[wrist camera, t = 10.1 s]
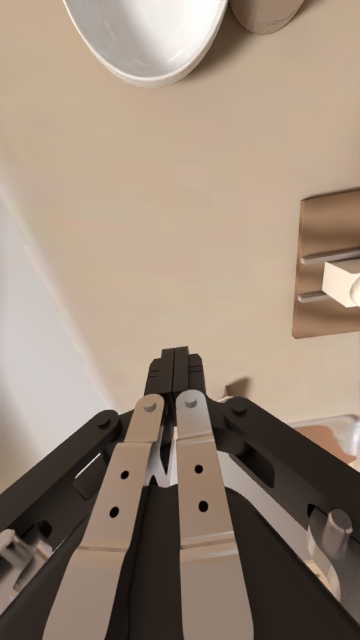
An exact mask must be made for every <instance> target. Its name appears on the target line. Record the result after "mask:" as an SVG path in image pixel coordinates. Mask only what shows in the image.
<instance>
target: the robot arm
mask: <svg viewBox="0 0 360 640" xmlns="http://www.w3.org/2000/svg"><path fill="white" fill-rule="evenodd" d="M303 2H304V0H229V3H230V6H231V8H232V11H233V14H234V15H235V17H236V19H237V20H238V22H239V23H240V24H241V25H242V26H243V27H244V28H245V29H247V30H248V31H250V32H252V33H255V34H260V35H262V34H270V33H273V32H275V31H278V30H279V29H280V28H282V27H283V26H285V25H286V24H287V23H288V22H289V21H290V20H291V19H292V18H293V17H294V15H295V14H296V12H297V11H298V9H299V8H300V6H301V5H302V3H303ZM175 426H177V432H178V439H177V440H176V452H177V473H178V484H175V485H173V486H170V473H171V465H172V457H173V448H174V436H173V435H174V427H175ZM217 450H218V451H222V452H226V453H228V455H229V456H230V458H231V459H232V460H233V461H234V462H236V464H237V465H238V466H239V467H241V468H242V469H243V470H244V471H245V472H246V473H247V474H248V475H249V476H250V477H251V478H252V479H253V480H254V481H255V482H256V483H257V484H258V485H259V486H260V487H261V488H263V489H264V490H265V491H266V492H267V493H268V494H269V495H270V496H271V497H272V498H273V499H274V500H275V501H276V502H277V503H278V504H279V505H280V506H281V507H282V508H283V509H285V510H286V511H287V512H288V513H289V514H290V515H291V516H292V517H293V518H294V519H295V520H296V521H297V522H298V523H299V524H300V525H301V526H302V527H303V528H304V529H305V530H307V546H308V550H309V553H310V555H311V557H312V559H313V560H314V562H315V563H316V565H317V566H318V567H319V568H320V570H321V571H322V572H323V574H324V575H325V577H326V578H327V580H328V582H329V584H330V587H331V589H332V593H333V594H332V593H331V592H330V591H329V590H328V589H327V588H326V586H325V585H324V584H323V583H322V582H321V581H320V580H319V579H318V577H317V576H316V575H315V574H314V573H313V572H312V571H311V570H310V568H309V567H308V566H307V565H306V564H305V563H304V562H303V561H302V560H301V559H300V557H299V556H298V555H297V554H296V553H295V552H294V551H293V550H292V548H291V547H290V546H289V545H288V544H287V543H286V542H285V541H284V539H283V538H282V537H281V536H280V535H279V534H278V533H277V532H276V530H275V529H274V528H273V527H272V526H271V525H270V524H269V523H268V521H267V520H266V519H265V518H264V517H263V516H262V515H261V514H260V513H259V511H257V509H256V508H255V507H254V506H253V505H252V504H251V503H250V502H249V501H248V500H247V499H246V498H245V497H244V496H242V495H241V494H239V493H238V492H236V491H234V490H232V489H230V488H228V487H225V486H224V483H223V478H222V474H221V469H220V464H219V460H218V454H217ZM99 453H100V456H98V457H97V458H96V459H95V460H94V462H92V463H91V464H90V465H89V466H88V467H87V468H86V469H85V470H84V471H83V472H82V473H81V474H80V475H79V476H78V477H77V478H76V479H75V477H76V476H77V474H78V473H79V472H80V471H81V470H82V469H83V468H84V467H85V466H86V465H87V464H89V463H90V462H91V461H92V459H94V458H95V457H96V456H97V455H98V454H99ZM71 531H72V532H71ZM65 538H66V539H65ZM64 539H65V540H64ZM63 540H64V541H63ZM60 544H61V545H60ZM59 545H60V546H59ZM58 546H59V547H58ZM57 547H58V548H57ZM56 548H57V549H56ZM55 549H56V550H55ZM54 550H55V552H54ZM53 552H54V553H53ZM52 553H53V554H52ZM0 640H360V473H359V472H358V471H356V470H355V469H353V468H352V467H350V466H349V465H347V464H346V463H344V462H343V461H341V460H340V459H338V458H337V457H335V456H334V455H332V454H330V453H329V452H327V451H326V450H324V449H323V448H321V447H320V446H318V445H317V444H315V443H314V442H312V441H311V440H309V439H308V438H306V437H305V436H303V435H301V434H300V433H299V432H297V431H296V430H294V429H293V428H291V427H290V426H288V425H287V424H285V423H284V422H282V421H280V420H279V419H277V418H276V417H274V416H273V415H271V414H270V413H268V412H267V411H265V410H264V409H262V408H261V407H259V406H258V405H256V404H255V403H253V402H252V401H250V400H248V399H246V398H244V397H232V398H230V399H228V400H227V401H226V402H225V403H221V402H216V401H213V400H212V399H210V398H209V397H208V396H207V395H206V387H205V378H204V371H203V365H202V359H201V357H200V356H199V355H198V354H190V355H189V350H188V346H185V347H177V348H169V349H162V355H161V358H158V359H154V360H153V362H152V363H151V364H150V367H149V373H148V378H147V382H146V387H145V392H144V396H143V397H142V398H141V399H140V400H139V401H138V402H137V404H136V406H135V409H133V410H131V411H129V412H127V413H124V414H121V415H118V413H117V412H116V411H114V410H104V411H102V412H100V413H98V414H96V415H95V416H94V417H93V418H92V419H90V420H89V421H88V422H87V423H86V424H84V425H83V426H82V427H81V428H80V429H78V430H77V431H76V432H75V433H74V434H72V435H71V436H70V437H69V438H68V439H66V440H65V441H64V442H63V443H62V444H60V445H59V446H58V447H57V448H56V449H54V450H53V451H52V452H51V453H50V454H48V455H47V456H46V457H45V458H44V459H43V460H41V461H40V462H39V463H37V464H36V465H35V466H34V467H33V468H31V469H30V470H29V471H28V472H27V473H25V474H24V475H23V476H22V477H21V478H20V479H18V480H17V481H16V482H15V483H13V484H12V485H11V486H10V487H9V488H7V489H6V490H5V491H4V492H3V493H2V494H0Z"/></svg>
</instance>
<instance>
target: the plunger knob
mask: <svg viewBox="0 0 360 640" xmlns="http://www.w3.org/2000/svg"><path fill="white" fill-rule="evenodd" d="M322 291H323V292H325V293H326V294H328V295H329V296H331V297H332V298H334V299H335V300H337V301H338V302H339V303H341V304H342V305H344V306H345V307H354V306H359V307H360V257H354V258H347V259H340V260H334V261H327V262H325V268H324V276H323V284H322Z"/></svg>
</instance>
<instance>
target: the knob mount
mask: <svg viewBox="0 0 360 640" xmlns="http://www.w3.org/2000/svg"><path fill="white" fill-rule="evenodd" d="M354 257H360V190H359V191H353V192H347V193H341V194H336V195H330V196H324V197H319V198H313V199H307V200H301V207H300V222H299V238H298V253H297V268H296V283H295V299H294V314H293V329H292V336H293V337H294V338H295V339H300V338H308V337H316V336H324V335H332V334H340V333H348V332H356V331H360V307H359V306H354V307H345V306H344V305H342V304H341V303H339V302H338V301H337V300H335V299H334V298H332V297H331V296H329V295H328V294H326V293H325V292H323V291H322V284H323V276H324V268H325V262H327V261H334V260H340V259H347V258H354Z"/></svg>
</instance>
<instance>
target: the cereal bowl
mask: <svg viewBox="0 0 360 640" xmlns="http://www.w3.org/2000/svg"><path fill="white" fill-rule="evenodd" d="M63 2H64V4H65V6H66V9H67V11H68V13H69V16H70V18H71V19H72V21H73V23H74V25H75V27H76V29H77V30H78V32H79V33H80V35H81V37H82V38H83V40H84V41H85V43H86V44H87V46H88V47H89V48H90V50H91V51H92V52H93V54H94V55H95V56H96V57H97V58H98V60H99V61H100V62H101V63H102V64H103V65H104V66H105V67H106V68H107V69H109V70H110V71H111V72H112V73H113V74H115V75H116V76H118V77H119V78H121V79H122V80H124V81H126V82H128V83H131V84H133V85H137V86H139V87H147V88H158V87H163V86H168V85H171V84H173V83H175V82H177V81H179V80H180V79H182V78H184V77H185V76H186V75H188V74H189V73H190V72H191V71H192V70H193V69H194V68H195V67H196V66H197V65H198V64H199V62H200V61H201V60H202V59H203V57H204V56H205V54H206V53H207V52H208V50H209V49H210V47H211V45H212V43H213V41H214V39H215V38H216V35H217V33H218V31H219V28H220V26H221V23H222V20H223V17H224V14H225V10H226V8H227V3H228V0H63Z"/></svg>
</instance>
